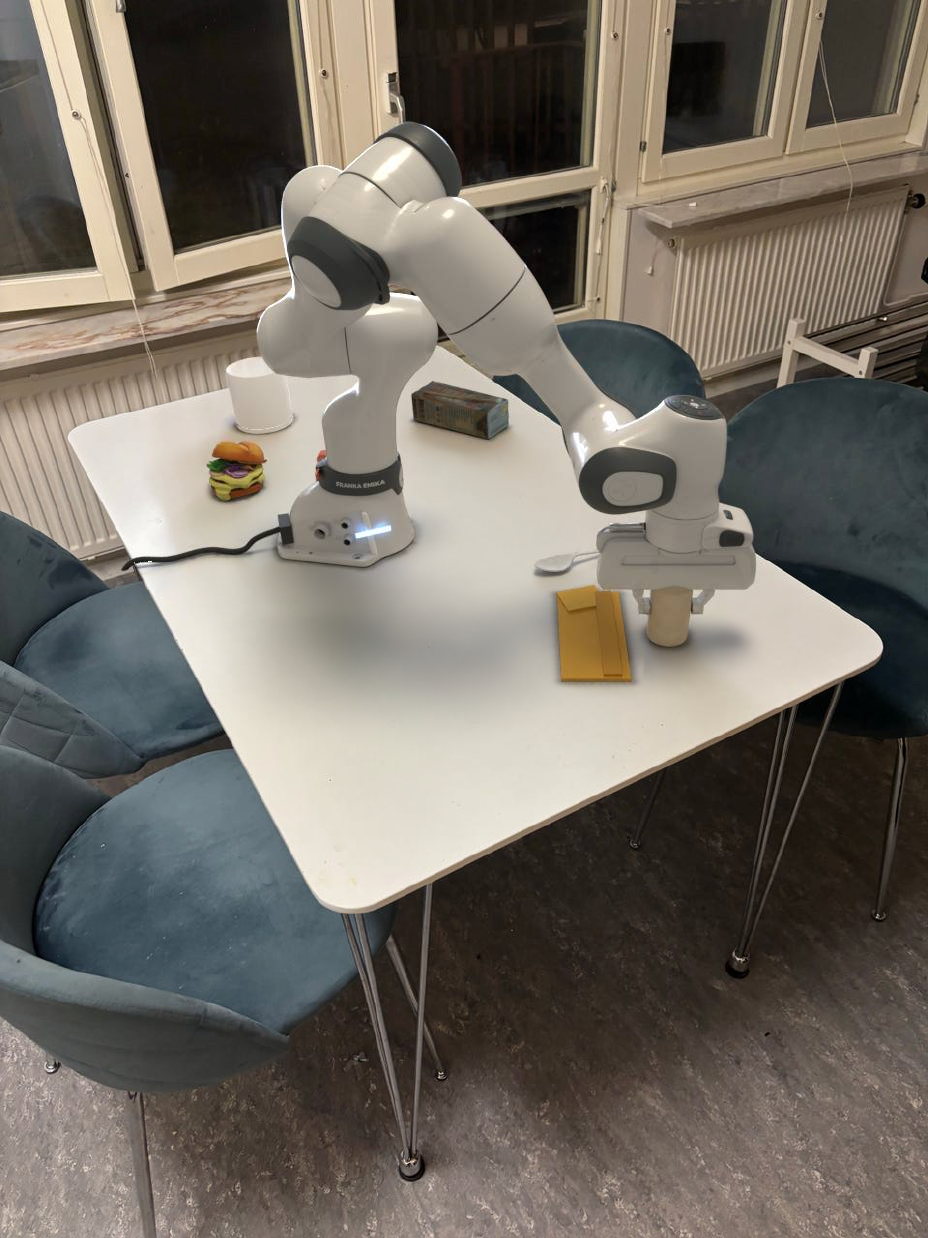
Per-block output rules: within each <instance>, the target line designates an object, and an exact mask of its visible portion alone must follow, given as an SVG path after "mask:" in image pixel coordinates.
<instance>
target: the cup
mask: <svg viewBox="0 0 928 1238" xmlns="http://www.w3.org/2000/svg"><path fill="white" fill-rule="evenodd" d="M225 374H226V380H227V385H228V389H229V394H230V399H231V403H232V409H233V414H234V418H235V423H236V422H237V423H238V425H240V426H241V427H240V426H238V425H237V423H236V427H237V429H238V430H239V431H242V432H244V433H246V434H252V435H263V434H264V435H265V434H270V433H275V432H279V431H282V430H284V429H286V428H288V427H289V426H290V425H291V424H292V423H293V421H294V415H292V414H293V408H292V402H291V396H290V390H289V384H288V378H287V377H288V376H285V375H279V374H276V373H274V372H273V371H272V370H271V369H270V368H269V367H268V366H267V364H266V363H265V362H264V360H263V358H262V356H254V357H253V356H252V357H248V358H247V357H246V358H243V359H242V358H241V359H239V360H237V361H234V362H232V363H231V364H229V365H228V366H227V367H226V369H225ZM291 417H292V418H291ZM290 419H291V420H290ZM287 421H288V422H287ZM286 422H287V423H286ZM284 423H285V424H284ZM282 424H283V425H282ZM278 425H281V426H278ZM276 426H278V427H276ZM242 427H244V428H242ZM270 427H274V428H270ZM245 428H248V429H245ZM265 428H270V429H265ZM251 429H263V430H251Z"/></svg>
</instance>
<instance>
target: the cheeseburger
mask: <svg viewBox="0 0 928 1238" xmlns="http://www.w3.org/2000/svg"><path fill="white" fill-rule="evenodd" d="M211 457H212V458H215V459H214V460H209V461H208V463H206V468H208V469H209V470H208V474H209V478H208V483H209V485H210V488H211V491H212V492H213V494H214V495H216V496H217V498H219V500H221V501H225V502H226V501H230V500H231V499H236V498H241V497H244V496H248V495H251V494H253V493H257V492H259V491H260V490H261V489H262V488H263V484H264V480H265V478H266V476H265V474H264V469H265V467H264V465H263V464H266V463H267V462H268V459H265V455H264V451H263V450H262V448H261V446H260V445H258V443H256V442H251V441H241V442H238V443H237V442H235V441H229V440H225V441H220V442H219V443H217V444H216V446H215V447H214V448H213V449H212V453H211Z"/></svg>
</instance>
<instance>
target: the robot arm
mask: <svg viewBox="0 0 928 1238" xmlns="http://www.w3.org/2000/svg"><path fill="white" fill-rule="evenodd" d="M462 186H463V177H462V171H461V168H460V165H459V162H458V158H457V157H456V155H455V153H454V151H453V149H452V148H451V147H450V145H449V144H448V143H447V141H446V140H445V139H444V138H443V137H442V136H441V135H440V134H439V133H438V132H437V131H435V130H434V129H432V128H430V126H429V127H428V126H427V125H424V124H421V123H419V122H414V121H405V122H401V123H399V124H397V125H395V126H393V127H392V128H389V129H388V130H386V131H384V132H383V133H381V134H380V135H379V136H377V138H376V139H375V140H374V141H373V143H372V144H371V146H369V148H367V149H366V150H365V151H364V152H362V153H361V154H360V155H358V157H357V158H355V159H354V160H353V161H352V162H351V163H350V164H349V165H348V166H347V167H346V168H345V169H344V170H341V169H339V168H336V167H333V166H330V165H313V166H309V167H307V168H306V167H305V168H304V169H302V170H301V171H299V172H297V173H296V174H295V175H294V176H293V177H291V179H290V180H289V181H288V183H287V185H286V186H285V189H284V191H283V194H282V199H281V200H282V201H281V232H282V239H283V244H284V250H285V255H286V260H287V262H288V267H289V270H290V271H289V272H290V275H291V280H292V287H291V289H290V290H289V292H288V293H287V294H286V295H285V296H284V297H283V298H282V299H279V300H278V301H277V302H275V303H273V304H270V305H269V306H267V307H266V308H265V310H264V311H263V313H262V314H261V316H260V319H259V321H258V324H257V328H256V343H257V349H258V352H259V354H260V357H262V358H263V360H264V362H265V363H266V364H267V366H268V367H269V368H270V369H271V370H272V371H273V372H274V373H276V374H279V375H285V376H286V377H292V378H301V379H302V378H303V379H316V378H317V379H318V378H329V377H343V376H344V377H345V376H354V377H356V378H358V380H357V381H356V383H355V384H354V385H353V386H352V387H351V388H349V389H348V390H346V391H344V392H342V393H341V394H339V395H337V396H336V397H334V399H332V400H331V401H330V402H329V403H328V405H326V407H325V408H324V410H323V413H322V415H321V427H322V428H321V429H322V434H323V441H324V442H323V443H324V449H321V450H320V451H319V452H318V455H317V457H316V465H315V472H314V476H315V481H314V482H313V483H312V484H311V485H309V486H308V487H307V488H305V489H304V490H302V491H301V492H300V493H299V494H298V495H297V497H296V498H295V499H294V501H293V504H292V505H291V507H290V511H289V512H287V513H279V514H277V522H278V526H276V527H273V528H271V529H268V530H267V529H266V530H264V531H263V532H260V533H258V534H256V535H254V536H253V537H251V538H250V539H249V540H248V541H247V543H246V544H245V545H244V546H242V547H239V548H229V547H222V546H220V547H219V546H206V547H200V548H195V549H192V550H188V551H184V552H181V553H177V554H173V555H168V556H147V555H145V556H137V557H133V558H131V559H132V560H131V559H129V560H128V561H126V563H124V565H122V567H121V569H120V571H121V572H126V571H128V570H129V569H130V568H132V567H133V566H134V565H137V564H141V563H143V564H144V563H149V562H148V561H152V562H151V563H155V564H164V563H165V564H166V563H172V562H176V561H181V560H185V559H188V558H191V557H195V556H199V555H204V554H214V553H215V554H223V555H242V554H244V553H246V552H249V550H250V549H251V548H252V547H253V546H254V545H255V544H256V543H257V542H259V541H261V540H263V539H265V538H268V537H270V536H273V535H276V534H278V536H277V542H276V544H277V547H276V548H277V552H278V555H279V557H280V558H282V559H283V560H284V559H285V560H292V561H293V560H294V561H302V562H310V563H311V562H312V563H322V564H330V565H331V564H332V565H341V566H349V567H350V566H351V567H360V568H366V567H370V566H371V565H373V564H375V563H376V562H378V561H379V560H381V559H383V558H385V557H387V556H391V555H394V554H396V553H398V552H400V551H402V550H403V549H405V548H407V547H408V546H409V545H410V544H411V543H412V541H413V540H414V538H415V536H416V530H415V528H414V525H413V523H412V520H411V518H410V515H409V511H408V508H407V505H406V500H405V496H404V485H405V483H404V468H403V463H402V458H401V454H400V453H399V451H398V444H397V443H398V441H397V410H398V405H399V400H400V398H401V395H402V393H403V390H404V389H405V387H406V386H407V384H408V383H409V381H410V380H411V379H412V378H413V376H414V375H415V374H416V373H417V372H418V371H419V370H420V369H421V368H423V367H424V366H425V365H426V364H428V362H429V361H430V359H431V358H432V356H433V355H434V353H435V350H436V348H437V345H438V341H439V340H438V339H439V328H438V326H439V327H440V329H441V330H442V331H443V332H444V333H445V335H446V336H447V337H448V338H449V339H450V341H451V342H452V343H453V344H454V346H455V347H456V348H457V349H458V350H459V351H460V352H461V353H462V354H463V355H464V356H465V357H466V358H467V359H469V361H470V362H471V363H473V364H474V365H475V366H476V367H478V368H479V369H480V370H481V371H483V372H484V373H485V374H487V375H489V376H490V375H491V376H496V377H506V376H513V375H517V376H519V377H520V378H522V379H523V380H524V381H525V382H526V383H527V384H528V385H529V386H530V388H531V389H532V390H533V391H534V392H535V394H536V395H537V396H538V397H539V398H540V399H541V401H542V402H543V403H544V404H545V405H546V407H547V408H548V409H549V411H550V412H551V413H552V414H553V415H554V416H555V418H556V419H557V421H558V423H559V425H560V429H561V434H562V440H563V443H564V447H565V449H566V452H567V454H568V457H569V459H570V463H571V465H572V469H573V474H574V476H575V480H576V483H577V487H578V489H579V493H580V496H581V497H582V499H583V500H584V502H585V503H586V504H587V505H588V506H589V507H590V508H592V509H593V510H595V511H596V512H599V513H602V514H606V515H613V516H614V515H617V516H618V515H626V514H627V515H628V514H634V513H638V512H645V516H644V522H628V523H620V522H611V523H608V525H606V526H604V527H601V528H600V529H599V531H598V532H597V534H596V542H595V543H596V544H595V547H596V549H598V551H599V553H598V557H597V563H596V581H597V585H599V587H600V588H601V589H602V590H604V591H616V590H617V591H631V594H632V597H633V598H634V600H635V602H636V603H637V612H638V615H648V614H650V608H651V603H650V597H644V596H643V595H644V591H645V590H646V591H651V590H661V589H664V588H667V587H670V586H679V587H683V588H686V589H689V590H693V591H694V590H695V591H698V590H699V591H700V590H701V591H700V593H699V594H698V596H697V597H692V604H691V612H690V615H698V616H699V615H701V616H702V615H703V614H704V610H705V609H704V608H705V606H706V604H708V602H709V601H711V599H712V598H714V596H715V592H716V591H722V590H723V591H725V590H726V591H730V590H731V591H745V590H748V589H749V588H751V587H752V586H753V585H754V583H755V580H756V571H757V555H756V551H755V549H754V546H753V541H754V531H753V527H752V524H751V521H750V519H749V517H748V515H747V514H746V512H745V511H744V510H743V509H742V508H739V507H736V506H733V505H729V504H727V503H726V504H725V503H722V502H720V496H719V487H720V484H721V482H722V480H723V478H724V474H725V468H726V460H727V459H726V458H727V448H728V447H727V445H728V426H727V420H726V417H725V416H724V414H723V413H722V411H721V410H720V409H719V408H718V407H717V406H716V405H715V404H713V403H712V402H710V401H708V400H706V399H703V398H702V397H698V396H694V395H688V394H675V395H670V396H667V397H665V398H664V399H663V400H662V401H661V402H660V403H659V405H657V406H656V407H655V408H654V409H652V410H650V411H649V412H648V413H646V414H644V415H642V416H641V417H639V415H638V413H637V412H636V410H635V409H634V408H633V407H632V406H631V405H630V404H629V403H628V402H626V401H625V400H623V399H622V398H620V397H618V396H616V395H614V394H612V393H610V392H608V391H606V390H605V389H603V388H602V387H600V386H599V385H598V384H597V383H595V381H594V380H593V378H591V376H590V375H589V373H587V371H586V370H585V369H584V367H583V366H582V364H581V363H580V361H578V360H577V358H576V357H575V356H574V354H573V353H572V352H571V350H570V349H569V348H568V346H567V345H566V344H565V342H564V341H563V339H562V337H561V335H560V333H559V330H558V323H557V319H556V316H555V314H554V312H553V309H552V307H551V305H550V302H549V301H548V299H547V297H546V295H545V293H544V291H543V290H542V288H541V286H540V285H539V283H538V281H537V280H536V278H535V276H534V275H533V273H532V272H531V270H530V269H529V268H528V266H527V265H526V263H525V262H524V260H523V259H522V258H521V257H520V255H519V254H518V253H517V251H516V250H515V249H514V248H513V247H512V246H511V244H510V243H509V242H508V240H506V238H505V237H504V236H503V235H502V234H501V233H500V232H499V230H498V229H497V228H496V227H495V226H494V225H493V224H492V223H491V222H490V221H489V220H488V219H487V218H486V217H484V216H483V214H482V213H481V212H480V211H478V209H476V208H475V207H474V206H473V205H472V204H471V203H469V202H468V201H467V200H465V199H462V198H460V197H459V196H460V193H461V190H462ZM392 285H393V286H400V287H403V288H405V289H407V290H409V291H411V292H412V293H413V294H414V295H411V294H406V293H405V294H404V293H395V292H391V291H390V286H392ZM134 562H135V564H134ZM140 562H141V563H140Z"/></svg>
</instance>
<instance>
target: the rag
mask: <svg viewBox="0 0 928 1238" xmlns="http://www.w3.org/2000/svg"><path fill="white" fill-rule="evenodd" d="M556 603H557V604H556V605H557V621H558V622H557V624H558V641H559V643H558V644H559V660H560V661H559V663H560V680H561V682H632V674H631V668H630V667H631V666H630V660H629V654H628V646H627V640H626V634H625V633H626V632H625V626H624V621H623V614H622V613H623V612H622V606H621V598H620V593H619V590H617V591H616V590H599V589H598V588H597V586H596V585H595V584H592V585H587V586H580V587H575V588H570V589H565V590H560V591H556Z"/></svg>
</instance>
